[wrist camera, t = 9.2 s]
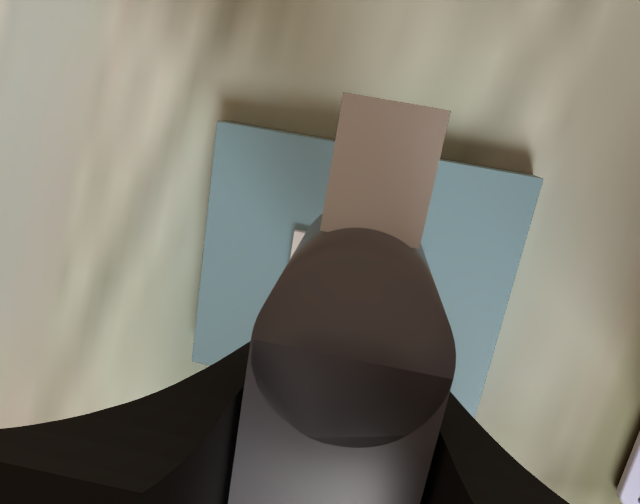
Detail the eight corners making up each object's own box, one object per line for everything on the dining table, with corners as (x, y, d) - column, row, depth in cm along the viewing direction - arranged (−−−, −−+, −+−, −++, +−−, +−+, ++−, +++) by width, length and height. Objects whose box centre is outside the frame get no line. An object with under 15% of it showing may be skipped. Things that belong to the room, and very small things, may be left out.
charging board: (533, 174, 19) (546, 179, 18) (469, 403, 22) (475, 423, 21) (226, 120, 20) (214, 121, 18) (201, 348, 23) (189, 364, 21)
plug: (458, 116, 11) (523, 117, 6) (370, 496, 14) (368, 698, 9) (324, 93, 11) (287, 77, 6) (263, 473, 14) (206, 659, 9)
